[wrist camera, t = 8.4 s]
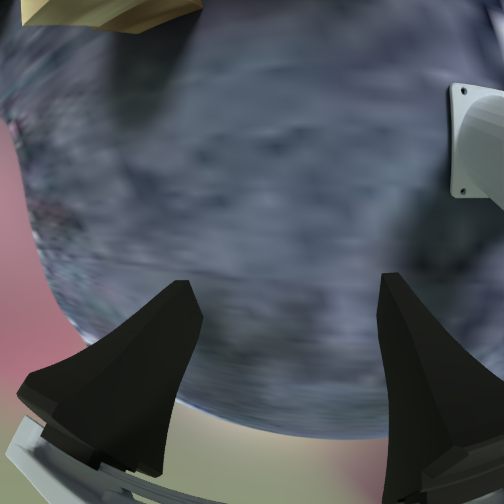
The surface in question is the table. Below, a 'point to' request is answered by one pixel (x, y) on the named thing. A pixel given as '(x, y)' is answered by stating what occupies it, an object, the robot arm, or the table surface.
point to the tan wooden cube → (149, 15)
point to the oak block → (73, 11)
